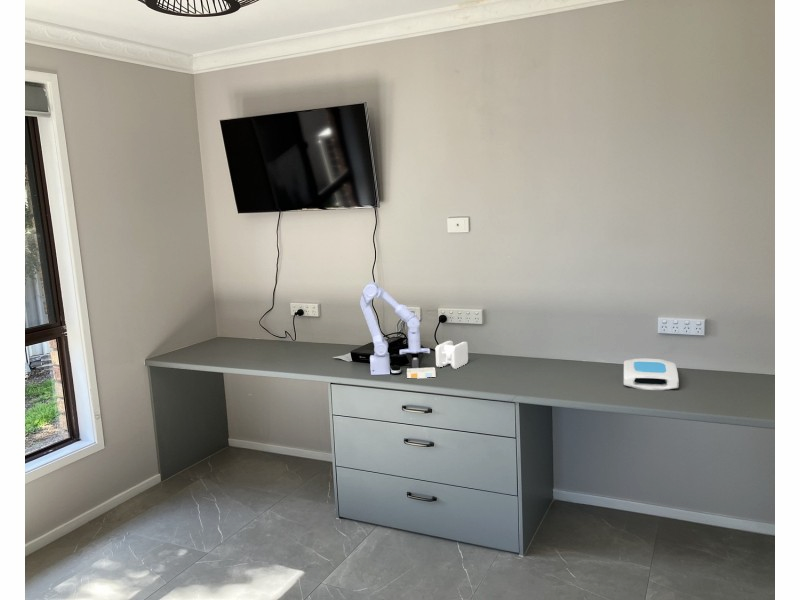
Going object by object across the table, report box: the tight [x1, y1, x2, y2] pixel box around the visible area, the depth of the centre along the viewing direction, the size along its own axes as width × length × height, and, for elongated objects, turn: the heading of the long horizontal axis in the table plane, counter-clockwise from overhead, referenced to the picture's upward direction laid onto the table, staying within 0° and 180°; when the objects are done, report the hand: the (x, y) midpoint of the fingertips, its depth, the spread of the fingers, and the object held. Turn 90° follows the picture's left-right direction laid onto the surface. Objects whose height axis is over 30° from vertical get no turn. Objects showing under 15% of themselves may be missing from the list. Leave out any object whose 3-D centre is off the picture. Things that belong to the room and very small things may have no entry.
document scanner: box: [623, 357, 680, 391], centre depth 271 cm, size 21×28×6 cm
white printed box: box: [406, 367, 437, 379], centre depth 295 cm, size 13×7×3 cm, turn 89°
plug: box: [412, 357, 419, 368], centre depth 303 cm, size 3×3×7 cm
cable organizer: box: [434, 340, 469, 370], centre depth 308 cm, size 15×11×12 cm
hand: (415, 367), depth 304 cm, fingers closed on plug, 3 cm apart
